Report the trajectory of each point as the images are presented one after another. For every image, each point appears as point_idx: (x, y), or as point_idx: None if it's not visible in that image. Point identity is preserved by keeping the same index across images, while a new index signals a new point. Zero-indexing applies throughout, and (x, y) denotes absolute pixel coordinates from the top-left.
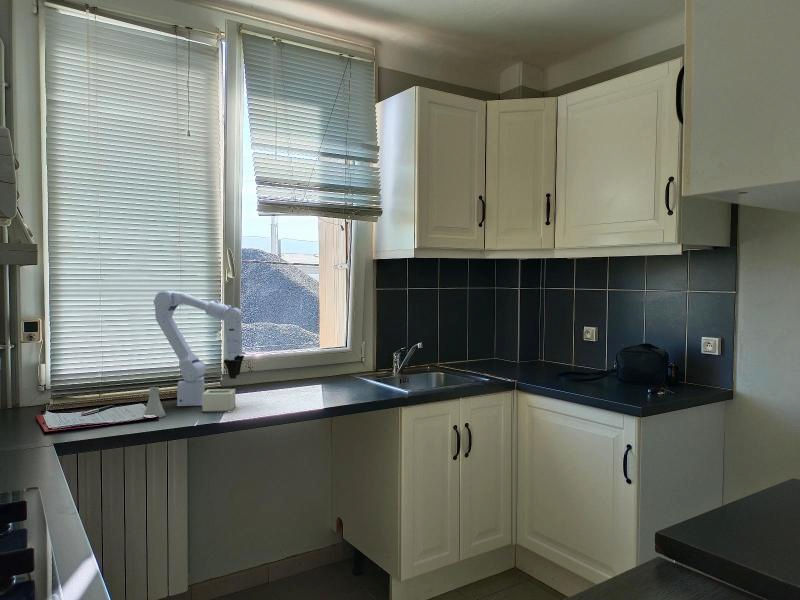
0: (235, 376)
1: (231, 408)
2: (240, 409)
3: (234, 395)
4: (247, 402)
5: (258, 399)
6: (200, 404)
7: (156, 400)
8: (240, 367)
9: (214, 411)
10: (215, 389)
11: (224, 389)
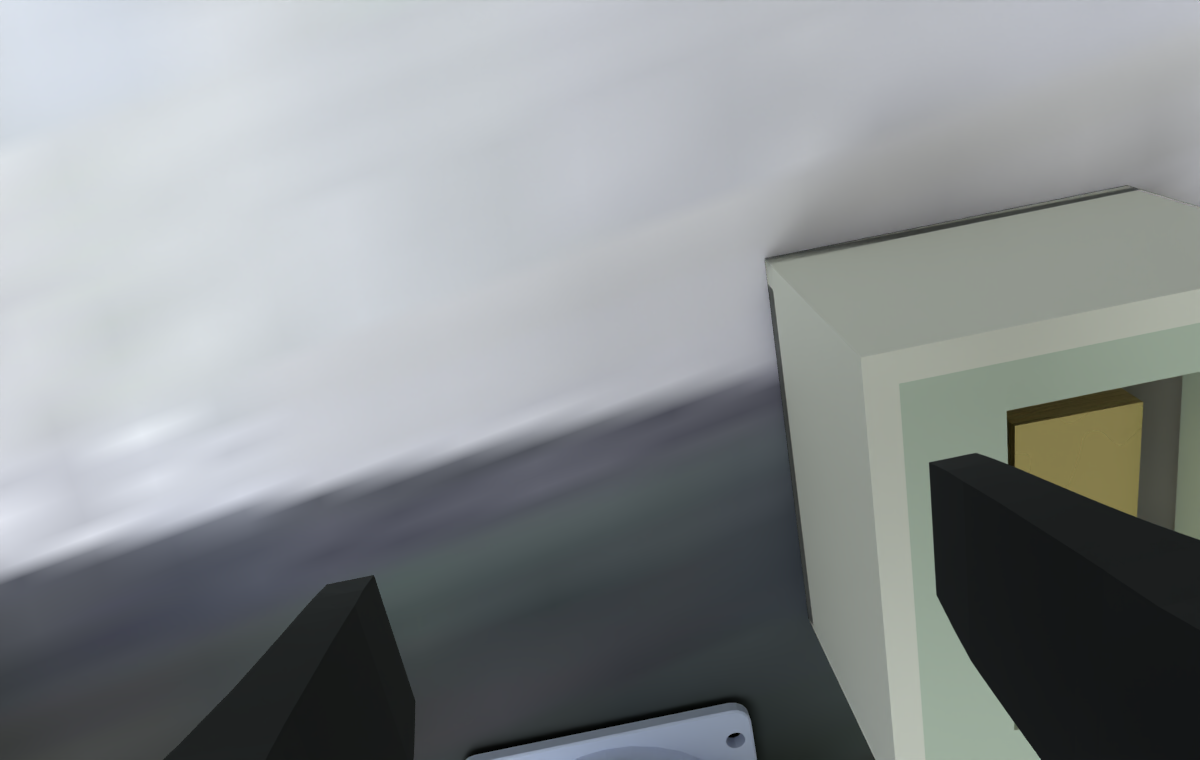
0: (1017, 479)
1: (1158, 196)
2: (964, 103)
3: (930, 298)
4: (433, 171)
5: (142, 48)
6: (752, 736)
7: None
8: (258, 703)
9: None
10: (896, 697)
11: (903, 548)
